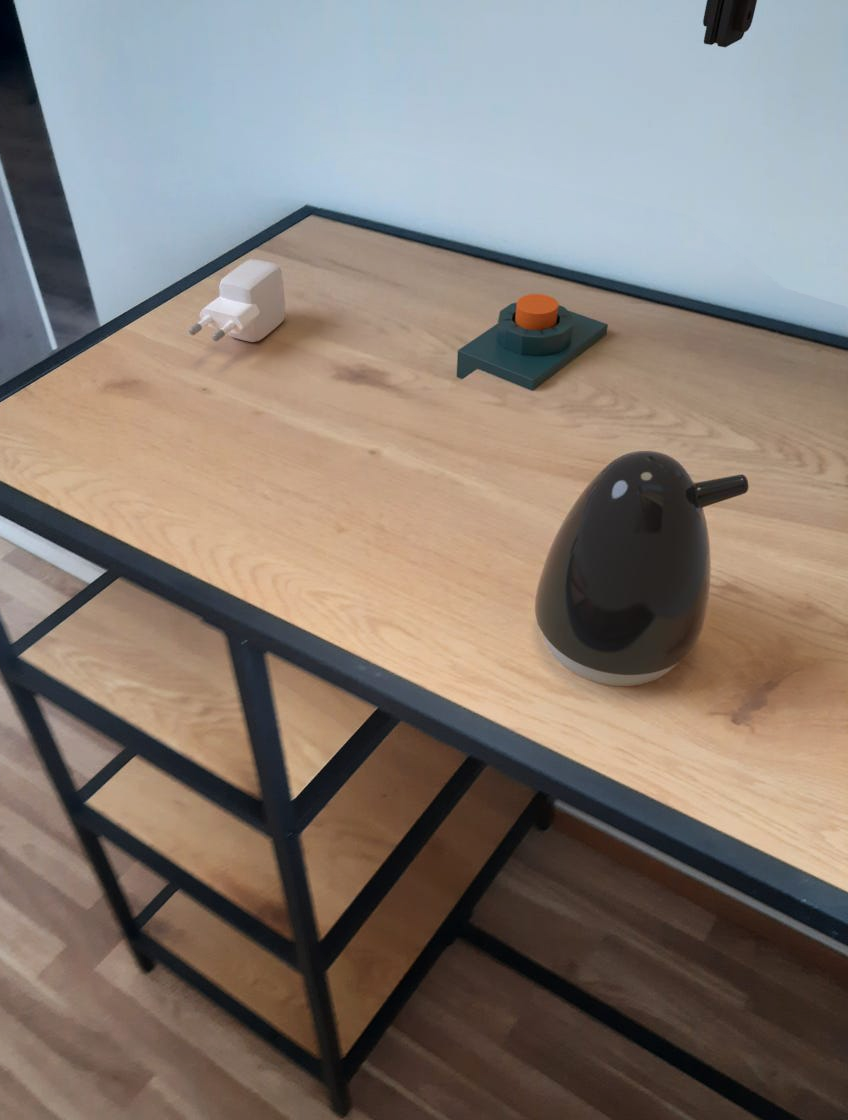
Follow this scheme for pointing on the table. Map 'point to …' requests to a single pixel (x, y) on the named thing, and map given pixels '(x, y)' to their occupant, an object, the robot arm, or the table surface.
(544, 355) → the button housing
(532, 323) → the orange button
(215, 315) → the power adapter
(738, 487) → the pump dispenser
